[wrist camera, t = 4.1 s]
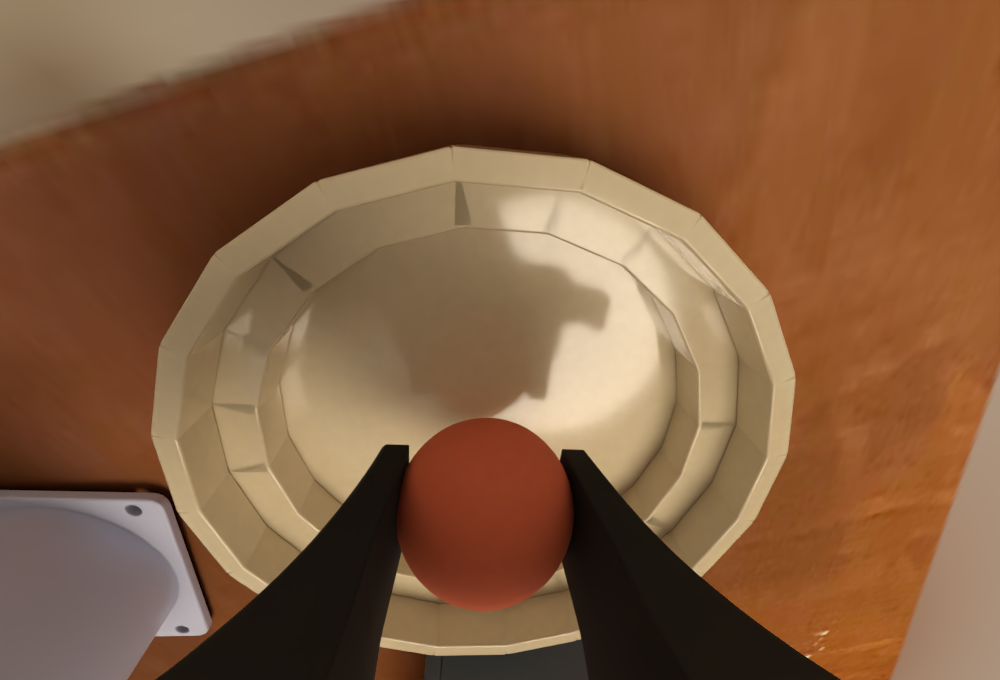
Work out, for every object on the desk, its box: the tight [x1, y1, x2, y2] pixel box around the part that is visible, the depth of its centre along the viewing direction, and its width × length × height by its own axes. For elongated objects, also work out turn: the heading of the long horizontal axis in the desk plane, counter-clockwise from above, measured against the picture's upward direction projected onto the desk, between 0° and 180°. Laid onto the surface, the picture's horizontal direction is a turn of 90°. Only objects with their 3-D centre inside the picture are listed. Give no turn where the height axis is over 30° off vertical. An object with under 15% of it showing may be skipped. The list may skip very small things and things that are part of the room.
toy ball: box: [397, 418, 574, 611], centre depth 10 cm, size 4×4×4 cm
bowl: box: [151, 144, 796, 656], centre depth 13 cm, size 16×16×4 cm
